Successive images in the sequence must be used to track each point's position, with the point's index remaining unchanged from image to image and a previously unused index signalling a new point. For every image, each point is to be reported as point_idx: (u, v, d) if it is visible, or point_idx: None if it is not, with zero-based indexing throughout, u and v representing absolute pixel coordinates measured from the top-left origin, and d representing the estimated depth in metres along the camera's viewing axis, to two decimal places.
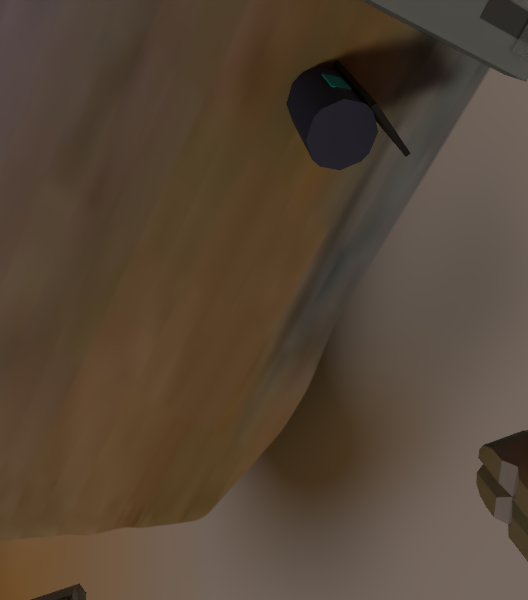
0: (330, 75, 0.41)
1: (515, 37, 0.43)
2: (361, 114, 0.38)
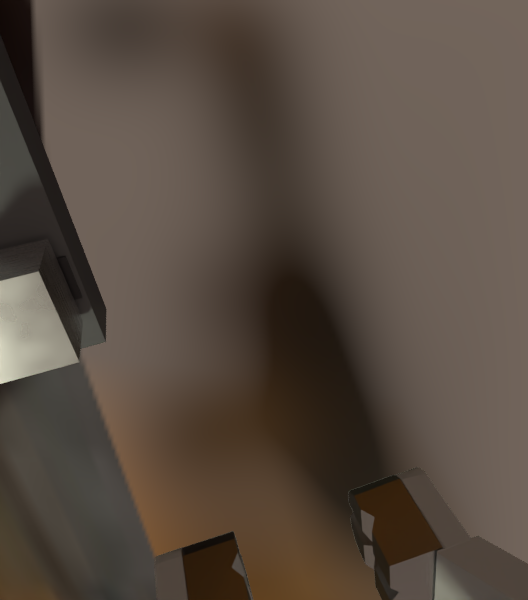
0: None
1: None
2: None
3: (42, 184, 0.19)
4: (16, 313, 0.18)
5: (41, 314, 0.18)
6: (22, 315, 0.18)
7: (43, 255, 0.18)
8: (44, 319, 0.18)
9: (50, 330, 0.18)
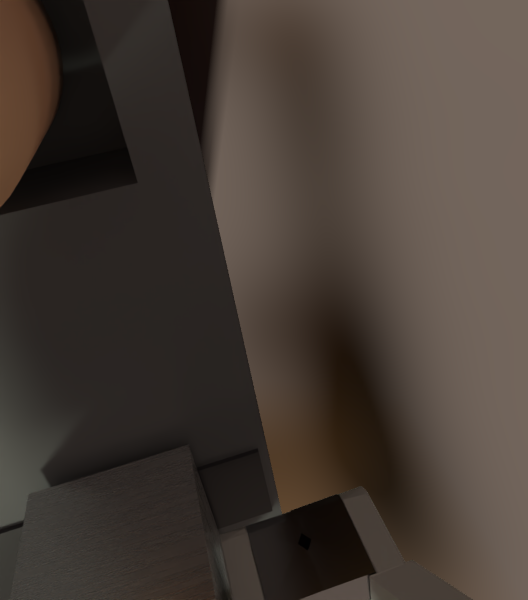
0: None
1: None
2: None
3: (240, 330, 0.09)
4: None
5: None
6: None
7: (200, 515, 0.08)
8: None
9: None
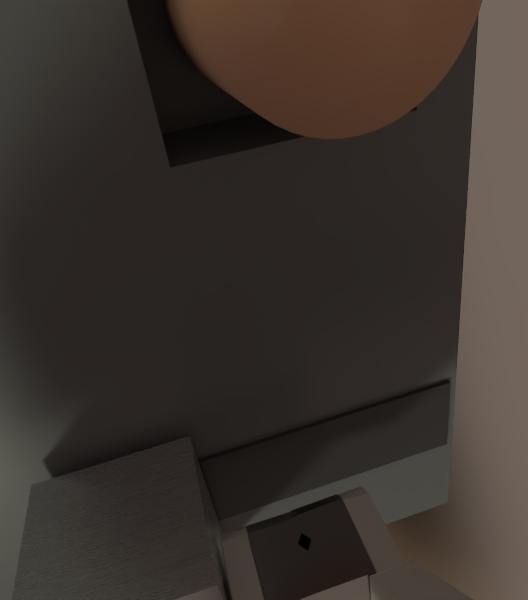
0: None
1: (313, 484, 0.12)
2: None
3: (460, 260, 0.10)
4: None
5: None
6: None
7: (202, 504, 0.08)
8: None
9: None
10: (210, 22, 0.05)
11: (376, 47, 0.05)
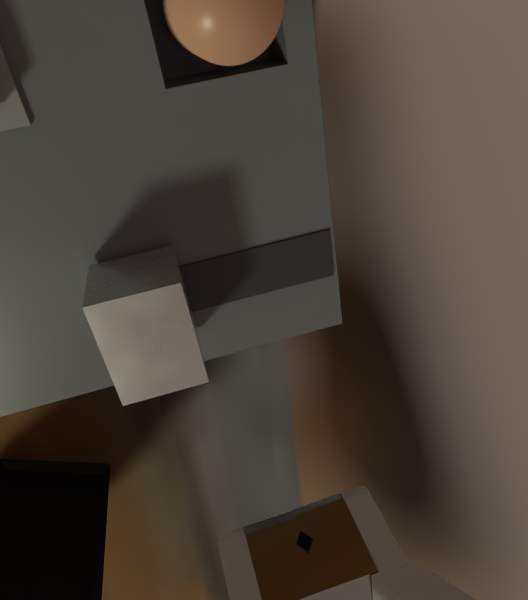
0: None
1: (251, 294, 0.20)
2: None
3: (325, 151, 0.18)
4: (151, 328, 0.16)
5: (177, 330, 0.16)
6: (157, 330, 0.16)
7: (177, 264, 0.17)
8: (179, 335, 0.16)
9: (184, 347, 0.16)
10: (176, 18, 0.13)
11: (241, 28, 0.13)
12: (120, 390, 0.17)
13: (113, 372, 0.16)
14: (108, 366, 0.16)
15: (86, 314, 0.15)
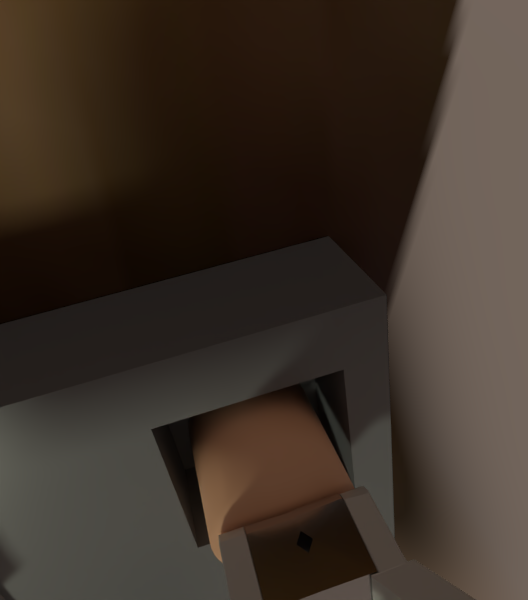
0: None
1: None
2: None
3: None
4: None
5: None
6: None
7: None
8: None
9: None
10: (218, 551, 0.10)
11: None
12: None
13: None
14: None
15: None
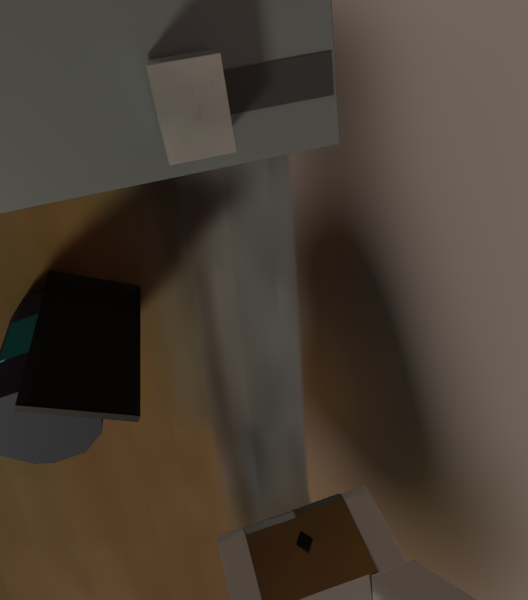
0: (23, 319, 0.27)
1: (267, 106, 0.25)
2: None
3: None
4: (195, 93, 0.21)
5: (215, 97, 0.21)
6: (200, 95, 0.21)
7: (214, 51, 0.21)
8: (216, 103, 0.21)
9: (219, 115, 0.21)
10: None
11: None
12: (168, 150, 0.22)
13: (164, 131, 0.21)
14: (161, 124, 0.21)
15: (148, 72, 0.20)
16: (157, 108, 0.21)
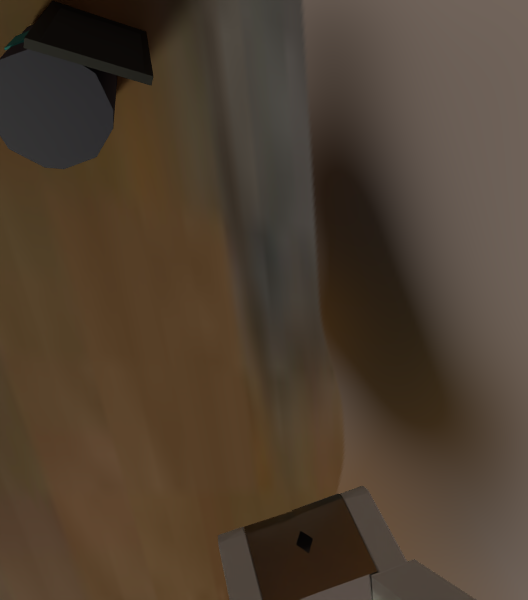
0: (28, 31, 0.26)
1: None
2: (46, 65, 0.23)
3: None
4: None
5: None
6: None
7: None
8: None
9: None
10: None
11: None
12: None
13: None
14: None
15: None
16: None
